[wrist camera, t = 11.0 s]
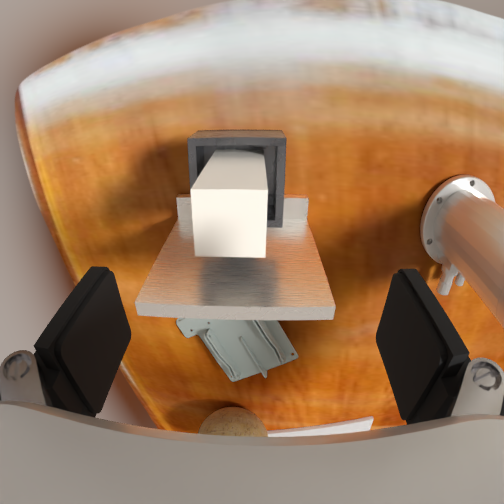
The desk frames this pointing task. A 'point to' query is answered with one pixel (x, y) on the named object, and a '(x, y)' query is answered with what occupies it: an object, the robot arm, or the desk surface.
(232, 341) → the metal bracket
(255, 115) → the desk surface
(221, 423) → the fossilized egg
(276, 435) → the baseboard
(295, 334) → the desk surface
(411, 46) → the desk surface
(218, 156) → the cream rectangular beam
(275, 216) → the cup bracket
